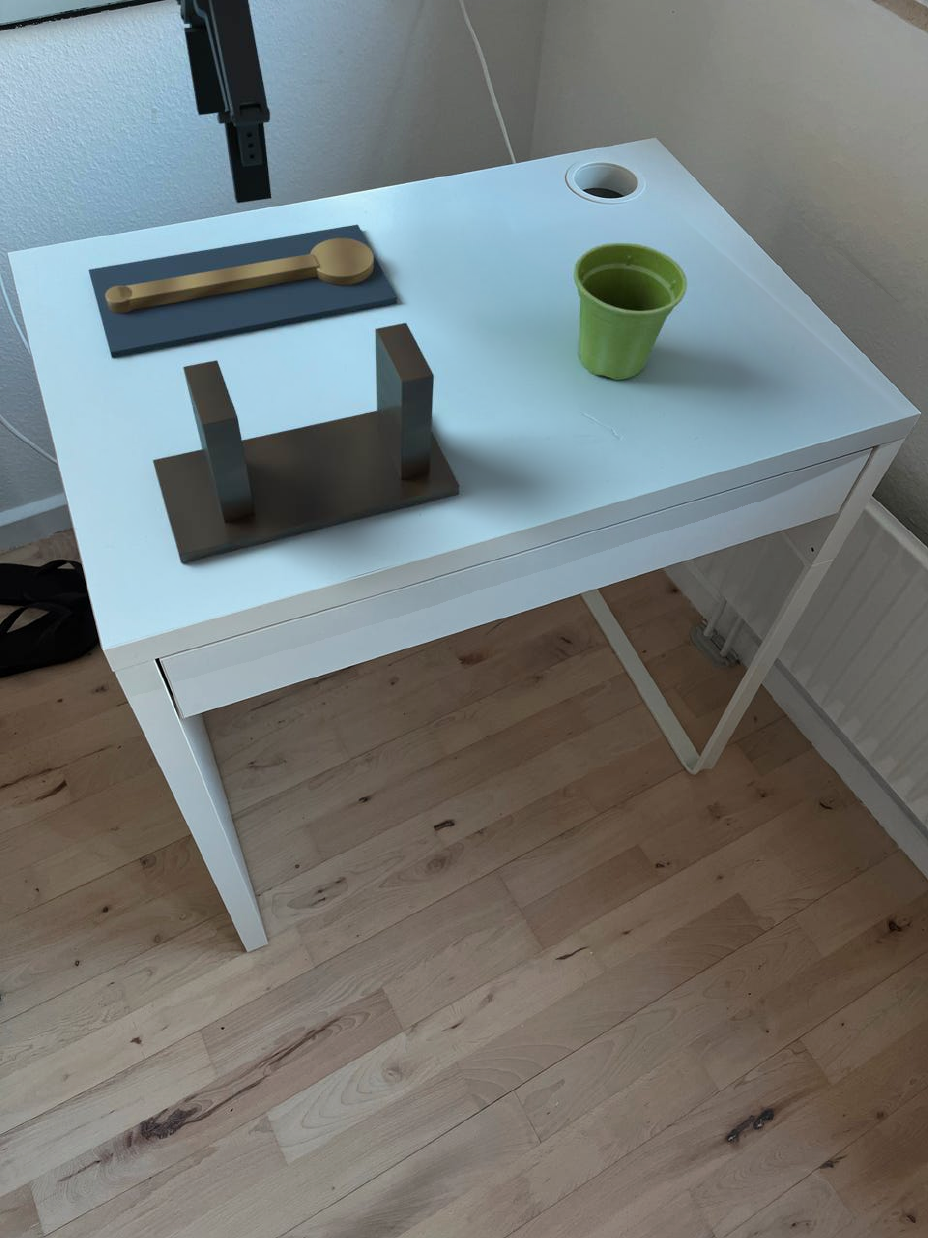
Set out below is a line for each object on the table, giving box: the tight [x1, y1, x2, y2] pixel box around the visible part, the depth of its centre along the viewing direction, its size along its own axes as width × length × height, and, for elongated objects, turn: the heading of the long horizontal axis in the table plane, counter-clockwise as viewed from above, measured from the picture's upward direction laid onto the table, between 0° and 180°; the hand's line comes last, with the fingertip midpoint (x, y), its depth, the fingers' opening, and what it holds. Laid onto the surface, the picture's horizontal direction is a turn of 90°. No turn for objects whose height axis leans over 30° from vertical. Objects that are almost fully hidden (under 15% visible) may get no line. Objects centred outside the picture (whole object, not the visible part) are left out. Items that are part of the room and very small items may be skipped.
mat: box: [88, 224, 398, 358], centre depth 87 cm, size 26×12×1 cm, turn 111°
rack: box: [152, 322, 461, 564], centre depth 70 cm, size 22×10×11 cm, turn 111°
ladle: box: [105, 238, 375, 313], centre depth 86 cm, size 25×6×1 cm, turn 111°
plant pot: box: [573, 242, 688, 381], centre depth 81 cm, size 9×9×9 cm
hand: (232, 153), depth 77 cm, fingers open, 13 cm apart
